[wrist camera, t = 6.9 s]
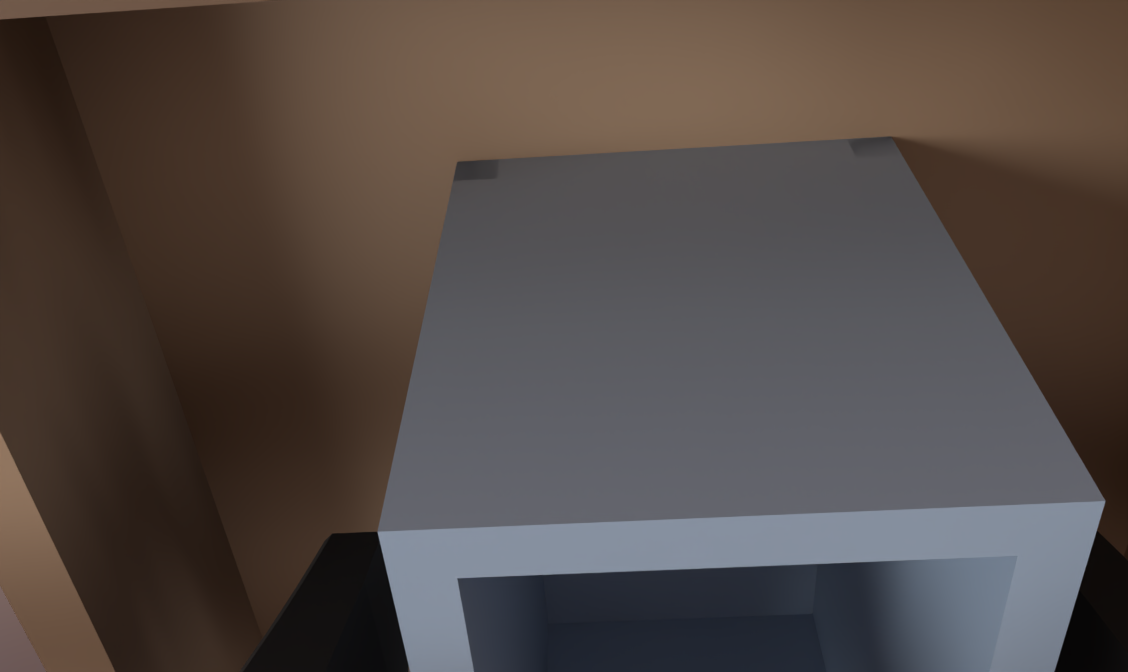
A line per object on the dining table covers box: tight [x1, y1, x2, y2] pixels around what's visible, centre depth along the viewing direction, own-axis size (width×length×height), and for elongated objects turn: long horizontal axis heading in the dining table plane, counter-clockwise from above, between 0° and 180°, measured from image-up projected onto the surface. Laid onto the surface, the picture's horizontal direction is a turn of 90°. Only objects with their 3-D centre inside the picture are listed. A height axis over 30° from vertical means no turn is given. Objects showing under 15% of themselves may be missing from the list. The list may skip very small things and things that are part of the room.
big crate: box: [0, 0, 1128, 672], centre depth 14 cm, size 16×15×4 cm
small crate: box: [378, 136, 1105, 672], centre depth 12 cm, size 8×5×6 cm, turn 4°
